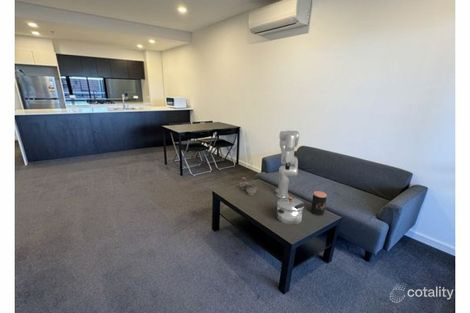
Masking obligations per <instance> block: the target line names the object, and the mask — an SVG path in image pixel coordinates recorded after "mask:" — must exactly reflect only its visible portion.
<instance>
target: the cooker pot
mask: <svg viewBox="0 0 470 313" xmlns="http://www.w3.org/2000/svg"><path fill="white" fill-rule="evenodd" d="M276 204H277V208H276V218H277V220H278V221H279V222H281V223H283V224H286V225H293V226H294V225H299V224H300V223H301V222H302V220H303V212H304V211H303V210H304V208H303V209H302V210H299V211H290V210H286V209H283V208H281V207H280V206H279V205H278V201H277V203H276Z"/></svg>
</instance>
